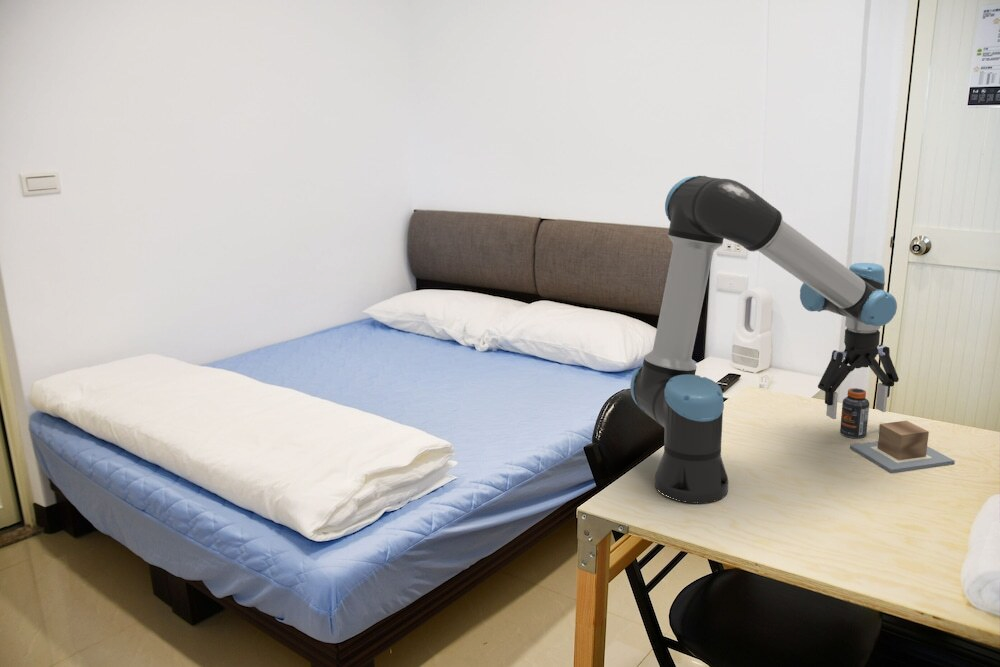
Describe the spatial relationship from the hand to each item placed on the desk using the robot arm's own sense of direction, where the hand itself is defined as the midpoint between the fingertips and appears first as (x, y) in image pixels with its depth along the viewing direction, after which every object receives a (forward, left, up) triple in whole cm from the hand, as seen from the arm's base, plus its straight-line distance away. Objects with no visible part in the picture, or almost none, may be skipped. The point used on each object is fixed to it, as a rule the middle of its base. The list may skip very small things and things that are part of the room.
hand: (856, 413), depth 189 cm
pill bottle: (0, 0, -6) cm, 6 cm away
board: (+2, -14, -5) cm, 15 cm away
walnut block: (+2, -14, -4) cm, 15 cm away
